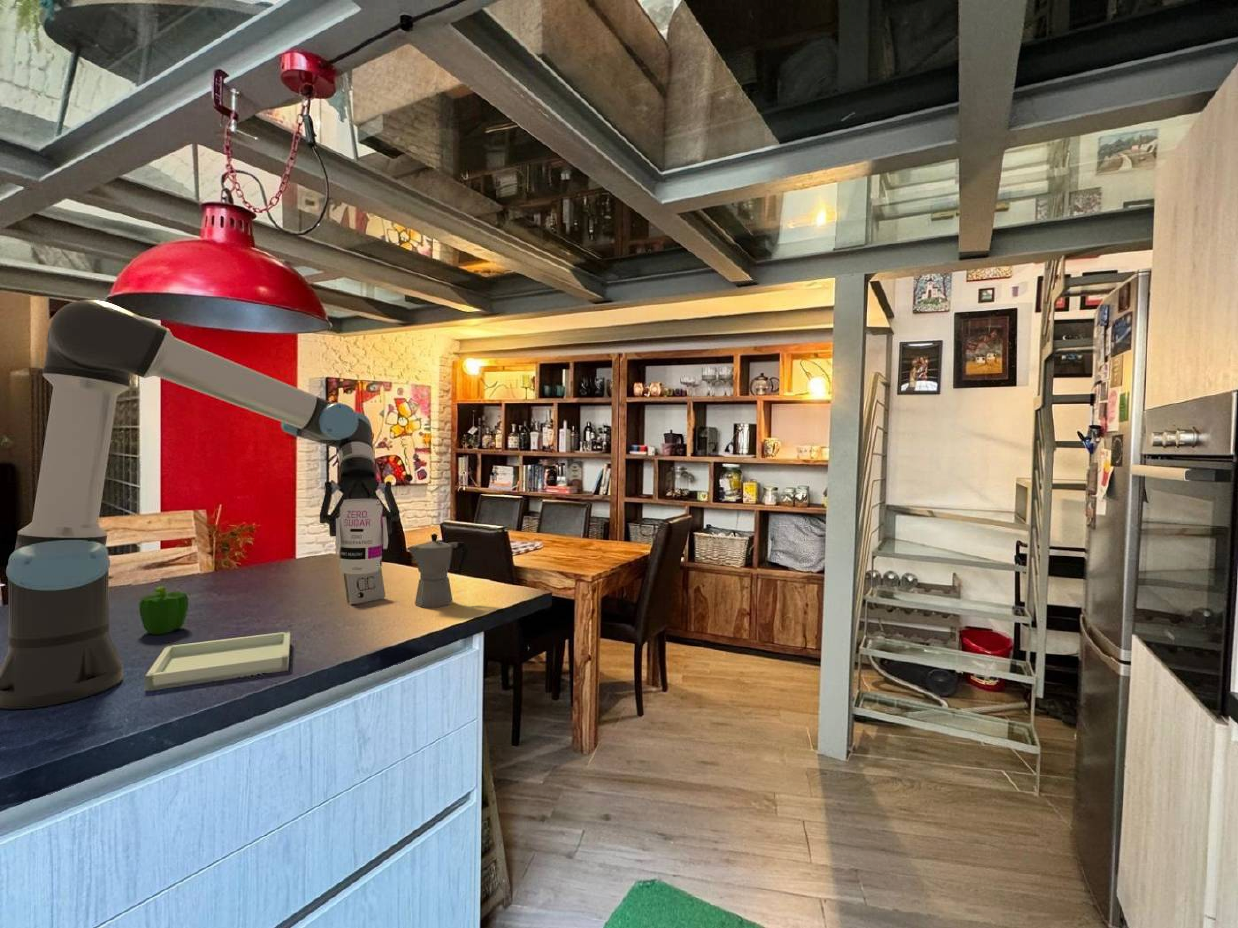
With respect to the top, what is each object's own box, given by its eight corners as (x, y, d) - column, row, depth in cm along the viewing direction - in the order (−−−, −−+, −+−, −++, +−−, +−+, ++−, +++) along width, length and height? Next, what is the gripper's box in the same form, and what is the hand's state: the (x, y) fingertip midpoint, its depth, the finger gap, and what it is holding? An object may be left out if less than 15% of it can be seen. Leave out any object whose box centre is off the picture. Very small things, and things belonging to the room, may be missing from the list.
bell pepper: (161, 624, 128) (161, 580, 127) (197, 626, 127) (196, 581, 127) (127, 636, 119) (126, 589, 119) (164, 638, 119) (164, 590, 118)
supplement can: (374, 565, 127) (375, 498, 127) (386, 571, 121) (387, 500, 121) (334, 569, 122) (335, 499, 122) (345, 576, 116) (346, 502, 115)
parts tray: (145, 691, 93) (145, 676, 93) (166, 659, 107) (166, 646, 107) (288, 670, 102) (288, 656, 102) (290, 643, 116) (290, 631, 116)
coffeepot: (407, 610, 142) (407, 537, 141) (406, 601, 150) (406, 532, 150) (471, 604, 147) (471, 534, 147) (466, 596, 156) (466, 530, 156)
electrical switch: (351, 606, 145) (349, 569, 146) (341, 604, 148) (339, 568, 149) (386, 599, 152) (384, 563, 153) (376, 597, 156) (374, 563, 156)
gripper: (403, 477, 140) (413, 553, 126) (305, 477, 130) (304, 560, 116) (407, 455, 135) (418, 532, 121) (305, 454, 125) (304, 537, 111)
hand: (362, 546), depth 118 cm, fingers closed on supplement can, 8 cm apart
